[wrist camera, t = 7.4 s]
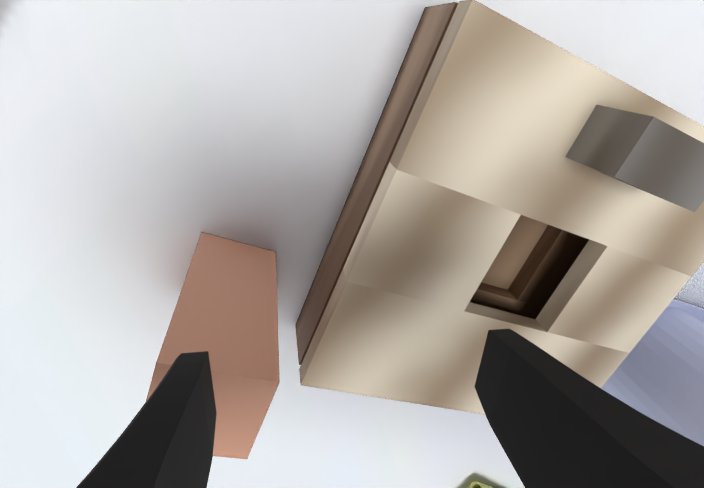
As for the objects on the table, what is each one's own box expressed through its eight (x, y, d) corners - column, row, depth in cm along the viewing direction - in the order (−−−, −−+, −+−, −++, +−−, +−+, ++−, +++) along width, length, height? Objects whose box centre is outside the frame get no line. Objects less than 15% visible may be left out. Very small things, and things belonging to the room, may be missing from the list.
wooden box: (689, 144, 21) (748, 159, 19) (527, 372, 27) (554, 409, 24) (425, 7, 16) (455, 1, 13) (295, 325, 22) (299, 364, 19)
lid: (755, 161, 18) (853, 187, 15) (557, 413, 24) (599, 468, 21) (459, 1, 13) (516, -9, 10) (299, 369, 19) (304, 433, 16)
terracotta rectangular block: (275, 251, 20) (279, 382, 12) (255, 309, 21) (247, 458, 14) (201, 232, 19) (156, 362, 11) (184, 294, 20) (133, 447, 13)
